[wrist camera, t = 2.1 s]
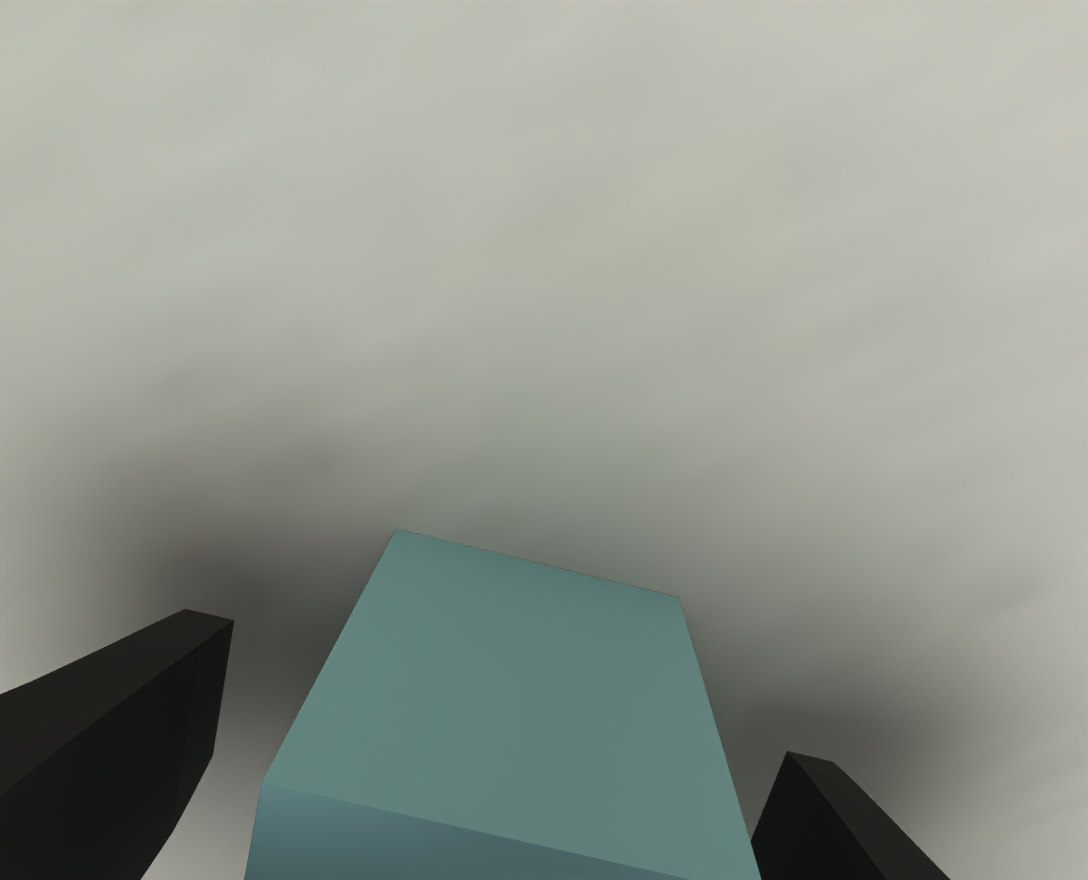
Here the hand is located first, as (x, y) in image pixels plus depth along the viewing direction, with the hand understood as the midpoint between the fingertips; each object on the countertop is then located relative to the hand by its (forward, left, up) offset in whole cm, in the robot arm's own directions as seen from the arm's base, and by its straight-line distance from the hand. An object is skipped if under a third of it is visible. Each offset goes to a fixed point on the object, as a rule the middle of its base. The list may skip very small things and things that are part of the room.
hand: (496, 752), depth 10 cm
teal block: (0, 0, -2) cm, 2 cm away
